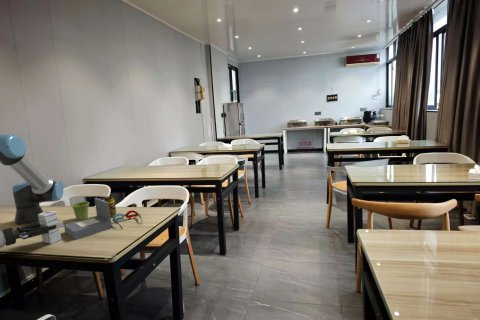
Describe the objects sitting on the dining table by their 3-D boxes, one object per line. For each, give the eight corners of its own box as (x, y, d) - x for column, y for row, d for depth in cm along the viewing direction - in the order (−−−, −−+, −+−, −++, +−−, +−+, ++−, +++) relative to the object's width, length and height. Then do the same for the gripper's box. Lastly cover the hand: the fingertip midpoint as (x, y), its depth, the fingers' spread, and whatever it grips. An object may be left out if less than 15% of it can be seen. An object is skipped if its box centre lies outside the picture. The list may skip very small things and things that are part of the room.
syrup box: (61, 239, 151) (56, 211, 149) (50, 244, 146) (44, 215, 144) (54, 238, 154) (49, 210, 151) (42, 242, 149) (37, 214, 146)
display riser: (65, 232, 161) (60, 206, 159) (100, 221, 174) (96, 197, 171) (75, 239, 150) (70, 212, 148) (112, 228, 162) (108, 202, 160)
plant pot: (94, 216, 184) (92, 202, 183) (80, 221, 176) (78, 207, 174) (84, 214, 188) (82, 201, 187) (70, 220, 180) (67, 205, 179)
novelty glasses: (137, 217, 179) (136, 208, 178) (145, 223, 166) (144, 215, 166) (112, 223, 171) (111, 214, 170) (118, 230, 159) (117, 221, 158)
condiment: (118, 216, 181) (115, 196, 179) (103, 220, 176) (100, 200, 174) (115, 213, 187) (113, 194, 185) (100, 217, 182) (97, 197, 180)
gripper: (1, 240, 144) (56, 225, 160) (9, 252, 130) (68, 234, 146) (-2, 225, 143) (53, 211, 158) (5, 235, 128) (65, 219, 144)
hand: (60, 222), depth 152 cm, fingers closed on syrup box, 7 cm apart
